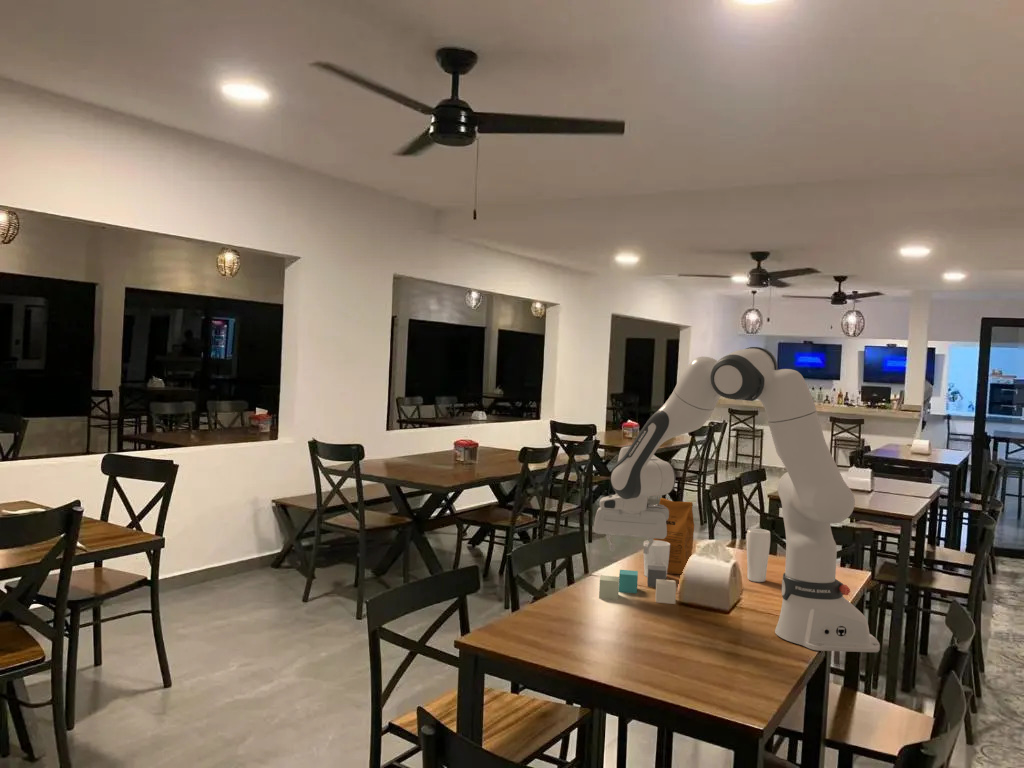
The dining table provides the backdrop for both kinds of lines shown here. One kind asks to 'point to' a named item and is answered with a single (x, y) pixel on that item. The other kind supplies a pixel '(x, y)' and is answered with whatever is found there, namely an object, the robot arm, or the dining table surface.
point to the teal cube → (628, 581)
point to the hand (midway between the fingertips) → (628, 551)
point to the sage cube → (609, 587)
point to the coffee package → (678, 534)
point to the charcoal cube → (655, 574)
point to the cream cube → (665, 591)
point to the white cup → (657, 555)
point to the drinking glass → (757, 554)
